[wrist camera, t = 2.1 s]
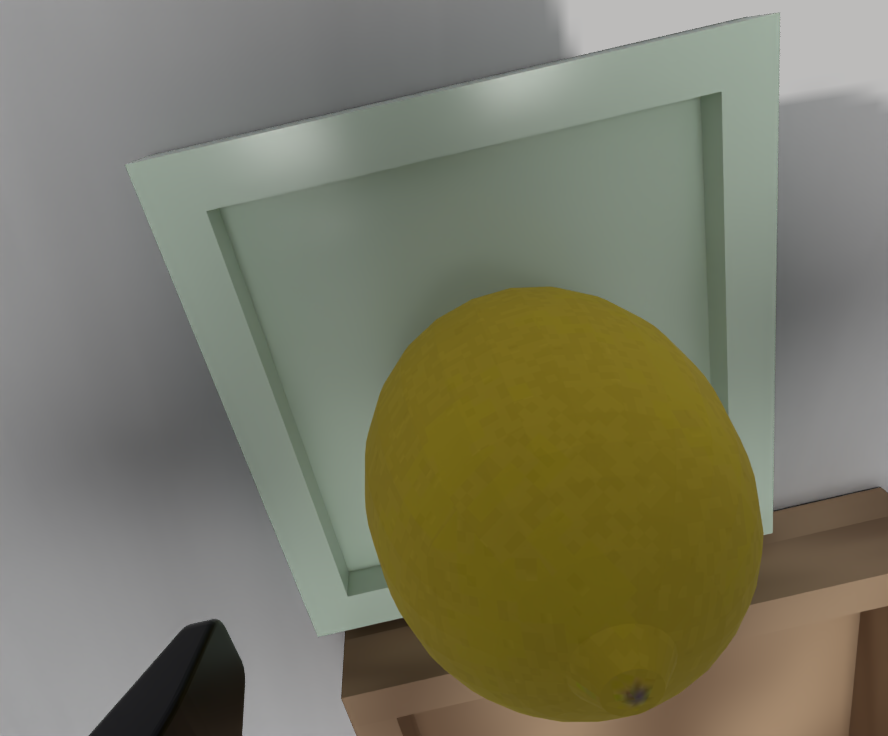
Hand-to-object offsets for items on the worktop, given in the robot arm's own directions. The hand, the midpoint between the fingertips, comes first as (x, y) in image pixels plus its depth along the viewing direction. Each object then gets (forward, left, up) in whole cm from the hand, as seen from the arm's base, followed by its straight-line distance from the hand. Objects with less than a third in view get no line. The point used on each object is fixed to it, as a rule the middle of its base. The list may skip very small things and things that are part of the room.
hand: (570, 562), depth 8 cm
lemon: (0, 0, -6) cm, 6 cm away
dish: (0, 0, -6) cm, 6 cm away
